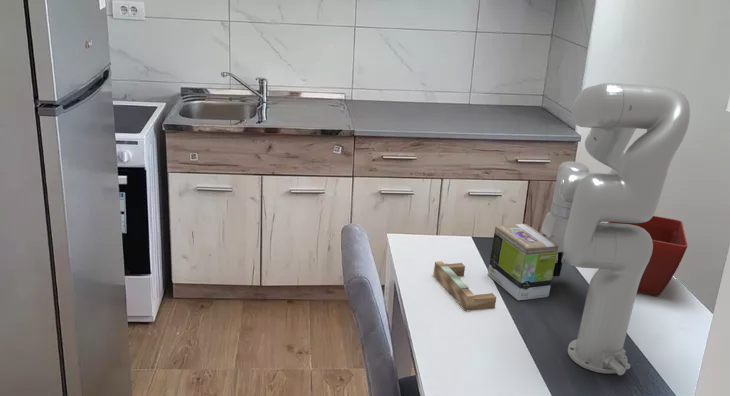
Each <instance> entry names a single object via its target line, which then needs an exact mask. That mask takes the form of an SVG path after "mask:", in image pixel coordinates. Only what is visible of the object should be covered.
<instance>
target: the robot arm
mask: <svg viewBox="0 0 730 396" xmlns="http://www.w3.org/2000/svg"><path fill="white" fill-rule="evenodd" d="M690 112H691V109H690V103H689V99H688V98H687V96H685V94H684V93H682V92H681V91H679V90H677V89H674V88H670V87H667V86H659V85H650V84H645V85H644V84H630V83H620V82H619V83H615V82H603V83H598V84H596V85H592V86H587V87H585V88H584V89H582V90H581V91H580V92H579V93H578V95H577V96H576V98H575V101H574V102H573V106H572V113H571V114H572V115H571V116H572V119H573V121H574V123H575V124H576V126H577V127H579V128H586V129H587V128H588V129H589V128H590V130H589V133H588V134H587V136H586V139H585V140H584V141H585V142H584V147H585V150H586V152H587V154H589V156H591V158H593V159H594V160H596V161H597V162H599V163H601V164H603V165H605V166H607V167H608V168H610V169H611V170H610V172H608V173H602V172H601V173H600V172H590V168H589V167H588V166H587V165H586V164H584V163H581V162H579V161H578V162H577V161H572V160H571V161H562V162H561V164H560V165H559V166H558V169H557V175H556V181H555V186H554V192H553V197H552V200H551V206H550V211H548V212H547V213H546V215H545V217H544V219H543V222H542V225H541V228H540V231H539V233H541V234H542V235H544V236H545V237H547V238H548V239H550V240H551V241H553V242H554V243H556V244H557V245H558V252H557V256H556V261H555V267H554V271H553V277H560V275H561V271H562V268H563V263H565V262H567V264H569V265H571V266H572V267H576V268H580V269H581V268H582V269H597V270H596V271H595V273H594V274H593V275H592V277H591V279H590V281H589V284H588V288H587V294H586V298H585V301H584V302H585V303H584V307H583V312H582V316H581V321H580V326H579V331H578V334H577V338H575V339H573V340H571V341H570V342H569V343H568V346H567V354H568V356H569V358H570V359H571V360H572V361H573V362H574V363H576V365H578V366H580V367H581V368H584V369H585V370H589V371H590V372H591V371H592V372H595V373H599V374H608V375H609V374H612V375H613V374H617V375H618V376H622V375H624V374H625V372H626V371H627V370H629V369H630V368H631V364H630V363H629V362H628V357H627V355H626V352H627V351H626V350H625V349H624V345H625V342H626V336H627V332H628V329H629V324H630V320H631V315H632V312H633V309H634V304H635V301H636V297H637V294H638V292H637V290H638V286H639V283H640V280H641V277H642V275H643V273H644V270H645V268H646V266H647V264H648V262H649V260H650V258H651V255H652V250H653V242H652V238H651V236H650V234H649V233H648V232H647V231H646V230H645V229H643V228H641V227H639V226H635V225H630V224H618V223H608V222H619V223H644V222H647V221H649V220H650V219H651V218H652V217H653V216H655V213H656V210H657V208H658V205H659V201H660V198H661V195H662V192H663V188H664V186H665V182H666V179H667V175H668V172H669V168H670V165H671V163H672V160H673V158H674V156H675V155H676V153H677V151H678V150H679V147H680V146H681V144H682V142H683V140H684V139H685V137H686V134H687V131H688V127H689V124H690V119H691V118H690V117H691V113H690ZM637 129H641V130H646V132H645V133H643V134H642V135H641V136H640V137H638V138H637V139H635V141H634V142H633V143H632V144H630V145H629V143H630V141H631V140H632V137H633V135H634V134H635V132H636V130H637ZM628 145H629V146H628ZM627 146H628V148H627ZM626 148H627V149H626ZM625 149H626V151H625ZM624 151H625V153H624ZM553 277H552V278H553Z"/></svg>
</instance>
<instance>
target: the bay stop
mask: <svg viewBox="0 0 730 396" xmlns="http://www.w3.org/2000/svg"><path fill="white" fill-rule="evenodd" d="M465 270H466V265H465V264H463V262H455V263H445V262H443V261H442V260H440V261H435V262H434V268H433V277H434V278H435V279H436V280H437V281H438V282H439V283H440V285H442V286H443V288H444V290H446V291H447V292H448V293H449V294H450V296H451V297H452V296H453V297H454V298H455V299H456V300H457V301H458V302H459V303H458V302H457V301H456V300H455V299H454V298H453V297H452V298H453V299H454V300H455V301H456V302H457V303H458V304H459V305H461V306H462V307H463V308H464V309H465V310H466V311H465V310H464V309H463V308H462V307H461V306H460V307H461V308H462V309H463V310H464V311H465V312H468V311H467V310H470V311H477V309H478V311H479V309H480V310H486V309H487V310H488V309H495V308H496V304H497V303H496V301H497V296H496V295H495V294H494V293H493V292H491V293H482V294H479V293H478V294H474V293H473V292H472V291H471V290H470V288H469V286H468V285H467V283H465V282H464V281H463V280H462V278H460V277H459V276H462V277H464V276H465Z"/></svg>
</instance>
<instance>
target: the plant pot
mask: <svg viewBox="0 0 730 396" xmlns="http://www.w3.org/2000/svg"><path fill="white" fill-rule="evenodd" d="M607 223H618V224H630V225H635V226H639V227H641V228H643V229H645V230H646V231H647V232H648V233H649V234H650V236H651V238H652V242H653V250H652V255H651V258H650V260H649V262H648V264H647V266H646V268H645V270H644V273H643V275H642V277H641V280H640V283H639V286H638V290H637V293H641V294H645V295H650V296H655V297H657V296H661V294H662V293H663V291H664V290H665V289H666V287H667V286H668V285H669V283H670V281H672V278H673V277H674V275H675V273H676V271H677V270H678V268H679V266H680V265H681V264H680V263H682V260H683V258H684V255H685V253H686V252H687V248H688V242H687V238H686V234H685V230H684V225H683V222H682V220H679V219H674V218H669V217H668V218H667V217H663V216H657V215H653V217H652V218H651V219H650V220H649V221H647V222H644V223H619V222H607Z"/></svg>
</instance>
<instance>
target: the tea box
mask: <svg viewBox="0 0 730 396" xmlns="http://www.w3.org/2000/svg"><path fill="white" fill-rule="evenodd" d="M492 239H493V240H492V245H491V252H490V259H489V263H488V264H489V265H488V272H487V275H488V276H489V277H490V278H491V279H492V280H493V281H495V282H496V283H497V284H498V285H499V286H500V287H501V288H502V289H504V290H505V291H506V292H507V293H508V294H510V295H511V296H512V297H513V298H514V299H515V300H516V301H527V300H534V299H541V298H542V299H543V298H547V297H549V296H550V291H551V285H552V281H553V271H554V267H555V261H556V256H557V252H558V245H557V244H556V243H554V242H553V241H551V240H550V239H548V238H547V237H545V236H544V235H542V234H541V233H540V231H538V230H536V229H534V228H533V227H531V226H530V225H529V224H527V223H517V224H506V225H505V224H503V225H495V226H494V233H493V238H492Z"/></svg>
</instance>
